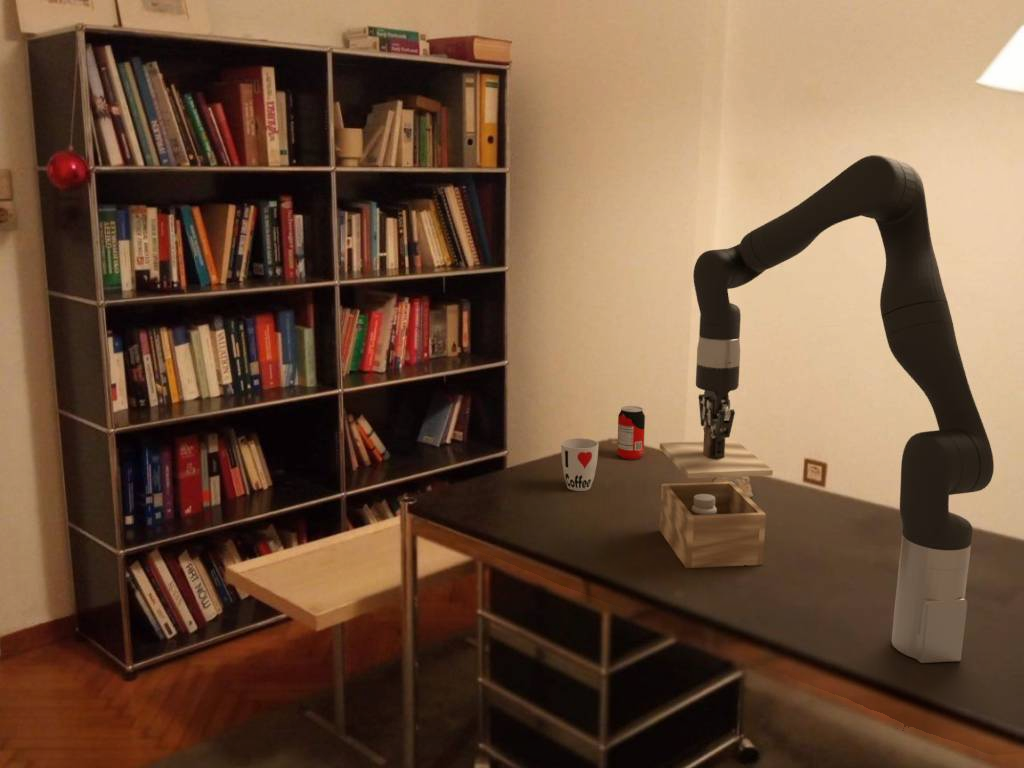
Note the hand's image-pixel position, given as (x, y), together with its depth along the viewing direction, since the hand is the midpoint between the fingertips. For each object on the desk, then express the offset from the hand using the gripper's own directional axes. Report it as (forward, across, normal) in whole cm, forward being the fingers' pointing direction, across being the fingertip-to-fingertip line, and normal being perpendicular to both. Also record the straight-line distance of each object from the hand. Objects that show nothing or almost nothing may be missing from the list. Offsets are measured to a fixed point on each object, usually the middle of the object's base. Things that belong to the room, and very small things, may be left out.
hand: (713, 454), depth 181 cm
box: (+18, 0, 0) cm, 18 cm away
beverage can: (+18, +57, +2) cm, 60 cm away
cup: (+18, +36, +18) cm, 44 cm away
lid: (+1, 0, 0) cm, 1 cm away
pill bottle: (+18, +4, 0) cm, 19 cm away
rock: (+18, +30, -15) cm, 38 cm away
